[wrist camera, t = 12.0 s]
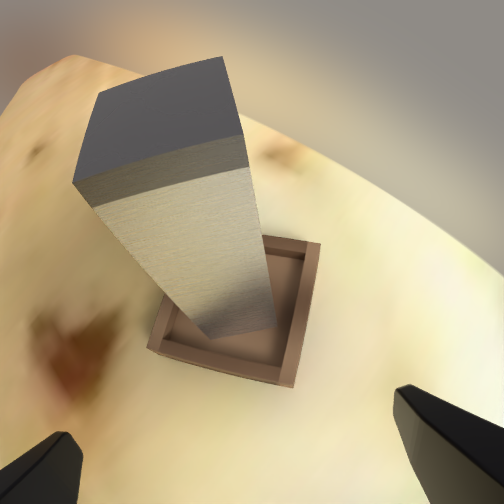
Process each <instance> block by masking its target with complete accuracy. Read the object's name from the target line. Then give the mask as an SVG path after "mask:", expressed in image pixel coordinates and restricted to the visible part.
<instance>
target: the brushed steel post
mask: <svg viewBox="0 0 504 504" xmlns="http://www.w3.org/2000/svg"><path fill="white" fill-rule="evenodd" d="M72 183H73V184H74V186H75V187H76V188H77V190H78V191H79V192H80V194H81V195H82V196H83V197H84V199H85V200H86V201H87V202H88V204H89V205H90V206H91V207H92V209H93V210H94V211H95V212H96V214H97V215H98V216H99V217H100V219H101V220H102V221H103V222H104V224H105V225H106V226H107V227H108V228H109V230H110V231H111V232H112V233H113V234H114V236H115V237H116V238H117V239H118V240H119V241H120V243H121V244H122V245H123V246H124V247H125V248H126V250H127V251H128V252H129V253H130V254H131V255H132V257H133V258H134V259H135V260H136V261H137V262H138V263H139V265H140V266H141V267H142V268H143V269H144V270H145V271H146V272H147V274H148V275H149V276H150V277H151V278H152V279H153V280H154V281H155V282H156V283H157V285H158V286H159V287H160V288H161V289H162V290H163V291H164V292H165V293H166V294H167V295H168V296H169V298H170V299H171V300H172V301H173V302H174V303H175V304H176V305H177V306H178V307H179V308H180V309H181V310H182V311H183V312H184V313H185V314H186V315H187V316H188V317H189V319H190V320H191V321H192V322H193V323H194V324H195V325H196V326H197V327H198V328H199V329H200V330H201V331H202V332H203V333H204V334H205V335H206V336H207V337H208V338H209V339H210V340H213V339H218V338H223V337H229V336H234V335H239V334H244V333H249V332H254V331H259V330H264V329H269V328H273V327H278V326H277V320H276V314H275V308H274V302H273V296H272V291H271V285H270V279H269V273H268V267H267V262H266V256H265V250H264V245H263V239H262V233H261V228H260V222H259V216H258V211H257V205H256V200H255V194H254V189H253V183H252V178H251V172H250V167H249V161H248V156H247V150H246V145H245V140H244V134H243V130H242V127H241V123H240V119H239V115H238V112H237V108H236V104H235V100H234V97H233V93H232V89H231V86H230V82H229V78H228V75H227V71H226V67H225V64H224V60H223V57H222V56H221V57H216V58H211V59H207V60H203V61H199V62H195V63H190V64H187V65H183V66H179V67H175V68H172V69H168V70H165V71H161V72H158V73H155V74H151V75H148V76H145V77H142V78H139V79H136V80H133V81H130V82H127V83H124V84H121V85H118V86H116V87H113V88H110V89H108V90H105V91H102V92H100V93H99V94H98V97H97V100H96V102H95V105H94V108H93V111H92V114H91V117H90V120H89V123H88V127H87V130H86V133H85V137H84V140H83V143H82V147H81V150H80V154H79V158H78V162H77V166H76V169H75V174H74V178H73V182H72Z"/></svg>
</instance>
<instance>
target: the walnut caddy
mask: <svg viewBox="0 0 504 504" xmlns="http://www.w3.org/2000/svg"><path fill="white" fill-rule="evenodd" d="M262 239H263V245H264V250H265V256H266V262H267V267H268V273H269V279H270V285H271V291H272V296H273V302H274V308H275V314H276V320H277V326H278V327H273V328H269V329H264V330H259V331H254V332H249V333H244V334H239V335H234V336H229V337H223V338H218V339H213V340H210V339H209V338H208V337H207V336H206V335H205V334H204V333H203V332H202V331H201V330H200V329H199V328H198V327H197V326H196V325H195V324H194V323H193V322H192V321H191V320H190V319H189V317H188V316H187V315H186V314H185V313H184V312H183V311H182V310H181V309H180V308H179V307H178V306H177V305H176V304H175V303H174V302H173V301H172V300H171V299H170V298H169V296H168V295H167V294H166V293H165V294H164V297H163V300H162V303H161V306H160V309H159V311H158V314H157V317H156V320H155V323H154V326H153V329H152V332H151V335H150V338H149V341H148V344H147V347H146V348H148V349H150V350H151V351H153V352H155V353H157V354H159V355H162V356H165V357H168V358H172V359H175V360H178V361H182V362H185V363H189V364H192V365H196V366H199V367H203V368H207V369H210V370H214V371H218V372H222V373H226V374H230V375H234V376H238V377H242V378H247V379H251V380H255V381H260V382H265V383H269V384H274V385H279V386H284V387H289V388H293V386H294V382H295V377H296V373H297V369H298V364H299V359H300V355H301V350H302V345H303V341H304V336H305V331H306V326H307V321H308V316H309V311H310V305H311V300H312V295H313V289H314V284H315V278H316V272H317V267H318V261H319V254H320V246H321V244H320V243H313V242H307V241H301V240H294V239H288V238H281V237H274V236H268V235H262Z"/></svg>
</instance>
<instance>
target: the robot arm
mask: <svg viewBox="0 0 504 504" xmlns="http://www.w3.org/2000/svg"><path fill="white" fill-rule="evenodd" d="M393 416H394V419H395V422H396V425H397V428H398V430H399V433H400V436H401V438H402V441H403V444H404V447H405V450H406V452H407V455H408V458H409V461H410V463H411V466H412V468H413V470H414V472H415V474H416V476H417V478H418V480H419V482H420V484H421V486H422V488H423V490H424V492H425V494H426V496H427V498H428V500H429V502H430V504H504V428H503V427H500V426H498V425H496V424H494V423H491V422H489V421H487V420H485V419H483V418H480V417H478V416H476V415H474V414H472V413H470V412H468V411H465V410H463V409H461V408H459V407H457V406H455V405H453V404H451V403H448V402H446V401H444V400H442V399H440V398H438V397H436V396H434V395H432V394H430V393H428V392H426V391H424V390H422V389H420V388H418V387H416V386H414V385H411V384H408V385H405V386H402V387H399V388H397V389H396V390H395V392H394V404H393ZM82 462H83V453H82V450H81V449H80V447H79V446H78V444H77V443H76V442H75V440H74V439H73V437H72V436H71V435H70V434H69V433H68V432H62V431H57V432H55V433H53V434H52V435H50V436H49V437H47V438H46V439H45V440H43V441H42V442H40V443H39V444H37V445H36V446H35V447H33V448H32V449H30V450H29V451H27V452H26V453H25V454H23V455H22V456H20V457H19V458H17V459H16V460H14V461H13V462H11V463H10V464H9V465H7V466H6V467H4V468H3V469H1V470H0V504H77V500H78V493H79V485H80V477H81V469H82Z"/></svg>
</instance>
